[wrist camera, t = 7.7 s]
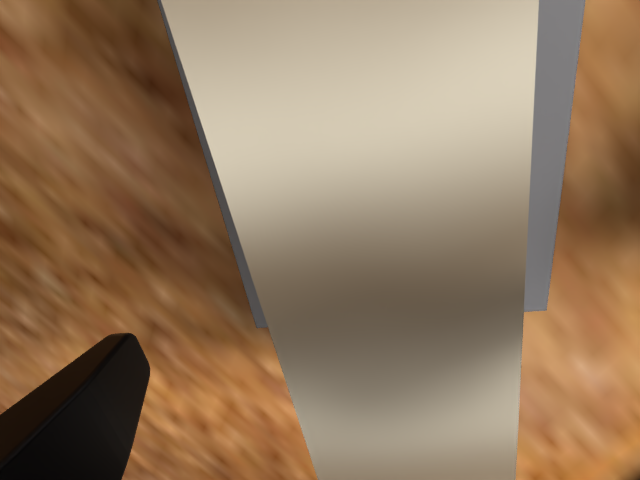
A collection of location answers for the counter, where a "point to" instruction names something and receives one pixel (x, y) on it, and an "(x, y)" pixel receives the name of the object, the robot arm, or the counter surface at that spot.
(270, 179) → the beige marbled block
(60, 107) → the counter surface
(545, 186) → the peg stand
